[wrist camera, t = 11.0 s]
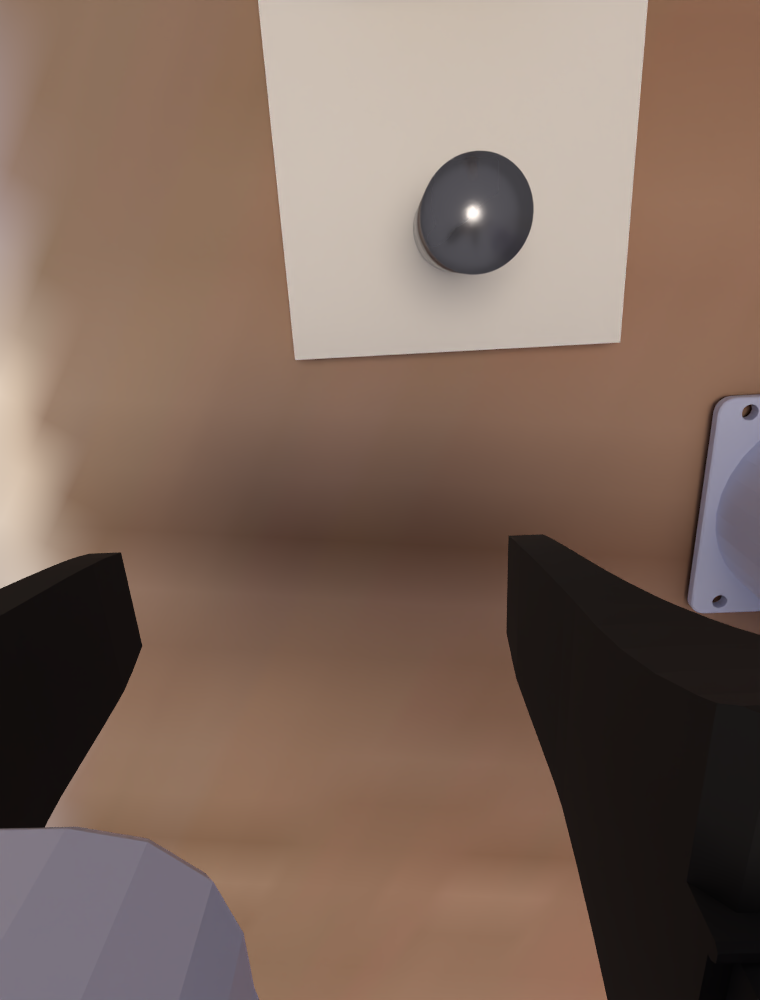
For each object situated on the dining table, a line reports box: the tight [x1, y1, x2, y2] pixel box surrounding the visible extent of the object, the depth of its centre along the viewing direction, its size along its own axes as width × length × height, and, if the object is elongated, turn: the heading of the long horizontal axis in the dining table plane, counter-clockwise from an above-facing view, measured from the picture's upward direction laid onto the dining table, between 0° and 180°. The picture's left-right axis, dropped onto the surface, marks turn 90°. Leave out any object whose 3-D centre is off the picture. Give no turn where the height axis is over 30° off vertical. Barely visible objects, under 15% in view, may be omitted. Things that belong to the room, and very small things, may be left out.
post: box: [413, 151, 534, 275], centre depth 16 cm, size 2×2×6 cm
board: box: [258, 0, 648, 360], centre depth 16 cm, size 10×17×1 cm, turn 3°
